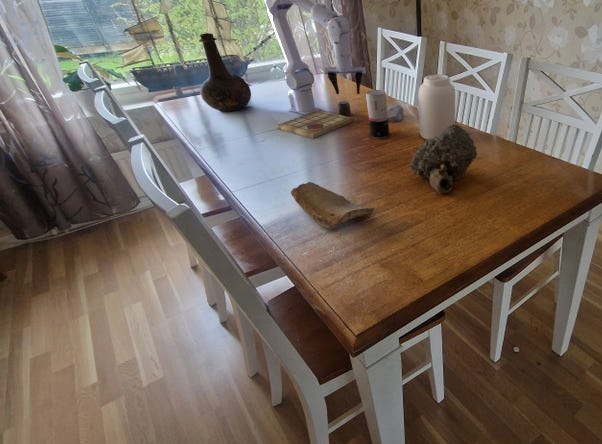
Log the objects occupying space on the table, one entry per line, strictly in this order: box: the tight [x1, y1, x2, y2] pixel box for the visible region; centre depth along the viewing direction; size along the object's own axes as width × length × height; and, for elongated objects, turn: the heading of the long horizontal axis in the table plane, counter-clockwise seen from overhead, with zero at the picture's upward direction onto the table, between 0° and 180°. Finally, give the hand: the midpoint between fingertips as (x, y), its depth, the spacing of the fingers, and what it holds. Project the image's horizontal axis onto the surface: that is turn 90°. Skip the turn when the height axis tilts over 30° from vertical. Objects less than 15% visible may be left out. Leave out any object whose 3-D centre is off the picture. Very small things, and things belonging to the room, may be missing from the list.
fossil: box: [290, 181, 375, 230], centre depth 90 cm, size 22×6×10 cm
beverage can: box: [365, 89, 390, 139], centre depth 128 cm, size 7×7×15 cm
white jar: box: [417, 73, 456, 141], centre depth 128 cm, size 12×12×20 cm
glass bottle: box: [198, 32, 252, 112], centre depth 148 cm, size 18×18×28 cm
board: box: [276, 109, 354, 139], centre depth 140 cm, size 18×20×2 cm
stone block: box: [387, 104, 404, 123], centre depth 147 cm, size 12×5×10 cm
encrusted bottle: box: [408, 124, 478, 195], centre depth 100 cm, size 18×14×15 cm
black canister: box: [337, 100, 352, 117], centre depth 149 cm, size 5×5×5 cm
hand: (348, 93), depth 141 cm, fingers open, 7 cm apart
